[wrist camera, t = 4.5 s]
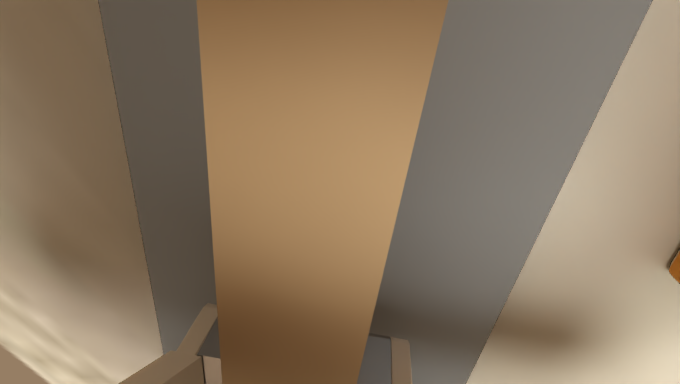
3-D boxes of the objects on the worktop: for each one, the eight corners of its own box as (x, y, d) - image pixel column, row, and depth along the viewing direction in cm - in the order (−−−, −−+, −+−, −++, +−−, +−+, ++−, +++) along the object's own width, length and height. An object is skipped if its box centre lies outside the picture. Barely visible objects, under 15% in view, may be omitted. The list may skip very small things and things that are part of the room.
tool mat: (82, -210, 6) (55, -229, 6) (696, -139, 6) (726, -152, 5) (183, 408, 16) (176, 422, 16) (421, 456, 16) (423, 472, 15)
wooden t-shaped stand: (123, -82, 7) (-252, -206, 3) (601, -19, 6) (957, -57, 2) (190, 394, 14) (114, 543, 10) (411, 437, 14) (421, 610, 10)
